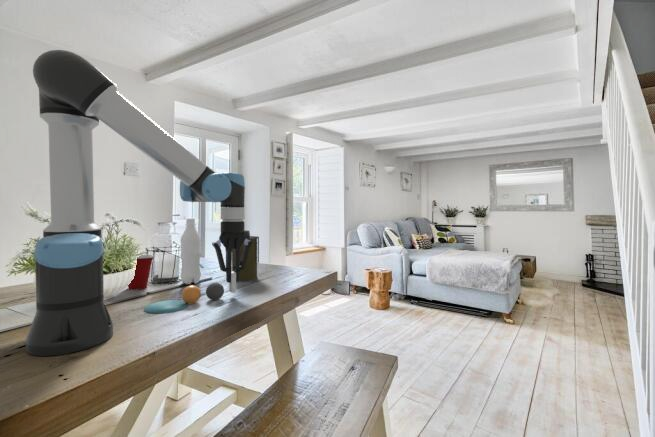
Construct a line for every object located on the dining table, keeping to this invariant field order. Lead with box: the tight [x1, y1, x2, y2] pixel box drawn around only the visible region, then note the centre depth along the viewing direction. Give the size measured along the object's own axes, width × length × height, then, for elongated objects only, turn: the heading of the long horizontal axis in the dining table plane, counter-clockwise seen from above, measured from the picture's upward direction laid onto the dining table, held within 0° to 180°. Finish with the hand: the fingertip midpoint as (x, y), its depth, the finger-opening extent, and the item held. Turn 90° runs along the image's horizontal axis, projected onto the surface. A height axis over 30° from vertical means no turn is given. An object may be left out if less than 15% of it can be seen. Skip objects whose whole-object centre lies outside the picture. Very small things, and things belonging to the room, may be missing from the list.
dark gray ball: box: [205, 282, 225, 301], centre depth 103 cm, size 6×6×6 cm
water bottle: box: [180, 218, 202, 285], centre depth 124 cm, size 7×7×25 cm
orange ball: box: [180, 284, 202, 305], centre depth 99 cm, size 6×6×6 cm
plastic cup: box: [127, 254, 155, 291], centre depth 117 cm, size 11×11×12 cm
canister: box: [232, 230, 260, 283], centre depth 132 cm, size 11×10×20 cm
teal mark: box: [143, 299, 190, 314], centre depth 95 cm, size 12×12×1 cm
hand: (232, 291), depth 106 cm, fingers closed
